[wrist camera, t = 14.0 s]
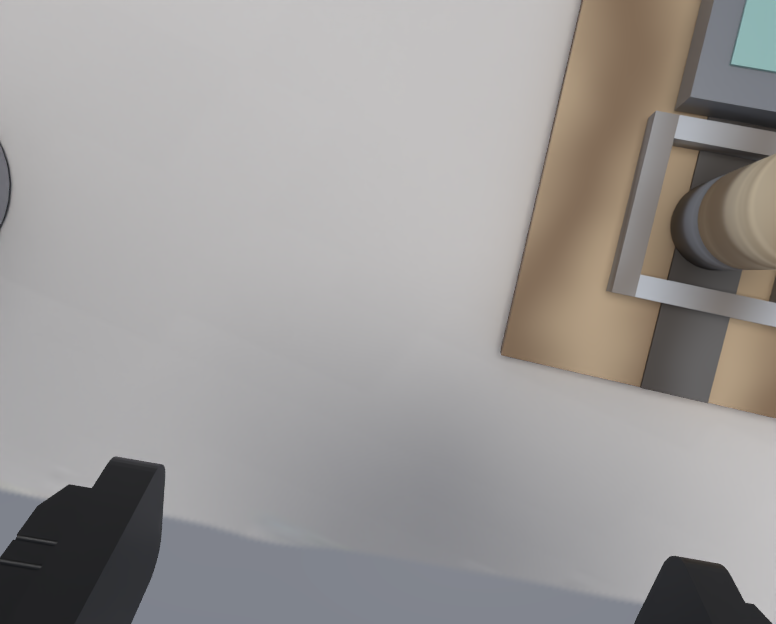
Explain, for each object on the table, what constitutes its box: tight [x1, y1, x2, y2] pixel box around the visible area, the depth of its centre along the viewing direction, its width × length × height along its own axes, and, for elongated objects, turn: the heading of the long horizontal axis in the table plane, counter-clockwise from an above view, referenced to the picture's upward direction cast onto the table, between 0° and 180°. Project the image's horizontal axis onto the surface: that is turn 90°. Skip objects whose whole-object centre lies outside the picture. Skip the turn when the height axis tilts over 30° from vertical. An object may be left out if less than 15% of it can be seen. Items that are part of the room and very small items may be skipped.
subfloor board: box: [501, 0, 776, 418], centre depth 31 cm, size 16×22×3 cm
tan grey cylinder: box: [671, 154, 776, 270], centre depth 26 cm, size 4×4×10 cm
